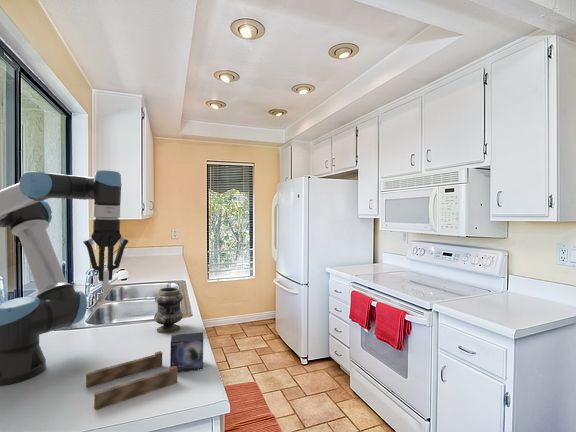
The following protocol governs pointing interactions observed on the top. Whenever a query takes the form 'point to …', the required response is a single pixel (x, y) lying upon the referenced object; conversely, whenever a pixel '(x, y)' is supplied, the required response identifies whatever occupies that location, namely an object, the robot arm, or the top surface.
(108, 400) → the chute
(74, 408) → the top surface
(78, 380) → the top surface
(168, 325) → the apothecary jar
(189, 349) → the small box
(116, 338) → the top surface
